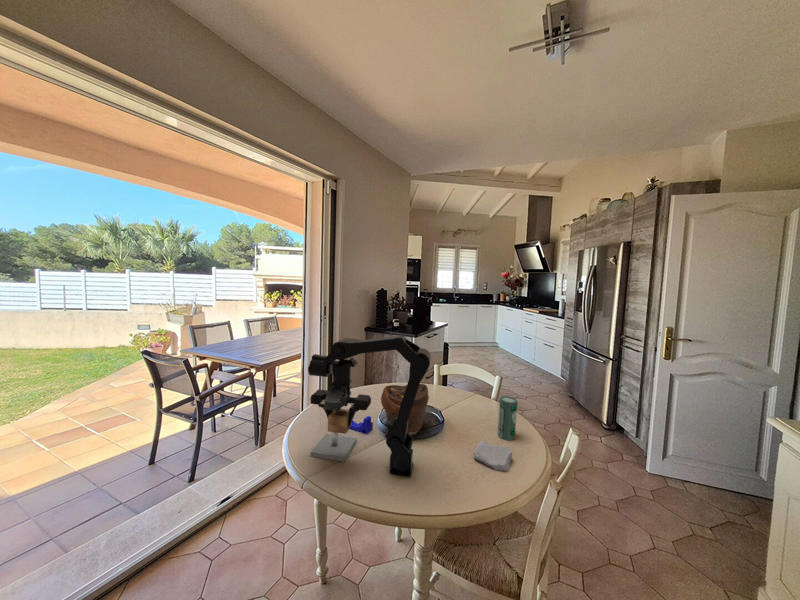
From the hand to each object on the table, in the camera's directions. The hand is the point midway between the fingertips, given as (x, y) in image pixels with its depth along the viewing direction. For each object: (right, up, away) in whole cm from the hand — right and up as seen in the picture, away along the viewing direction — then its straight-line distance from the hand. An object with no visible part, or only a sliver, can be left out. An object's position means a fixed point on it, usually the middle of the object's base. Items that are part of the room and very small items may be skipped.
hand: (340, 424), depth 98 cm
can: (+61, -13, +20) cm, 66 cm away
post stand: (-3, -12, +7) cm, 14 cm away
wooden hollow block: (0, -1, 0) cm, 1 cm away
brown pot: (+21, -11, +23) cm, 33 cm away
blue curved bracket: (+2, -11, +22) cm, 25 cm away
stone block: (+51, -14, +4) cm, 53 cm away
